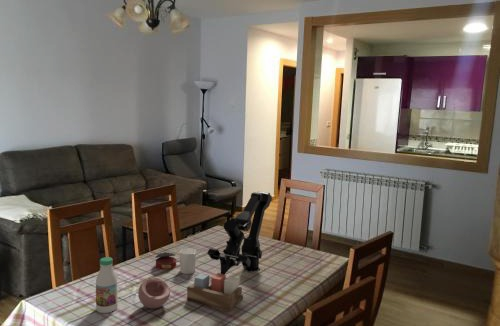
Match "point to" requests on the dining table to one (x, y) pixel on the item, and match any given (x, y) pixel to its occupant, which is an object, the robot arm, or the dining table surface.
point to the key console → (214, 297)
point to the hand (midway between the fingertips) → (221, 275)
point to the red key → (217, 282)
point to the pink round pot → (153, 293)
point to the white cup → (187, 260)
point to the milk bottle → (106, 287)
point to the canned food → (165, 261)
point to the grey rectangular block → (202, 280)
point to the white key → (230, 285)
